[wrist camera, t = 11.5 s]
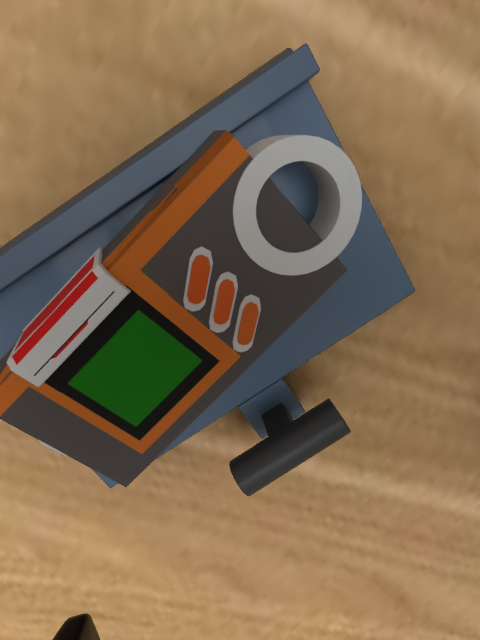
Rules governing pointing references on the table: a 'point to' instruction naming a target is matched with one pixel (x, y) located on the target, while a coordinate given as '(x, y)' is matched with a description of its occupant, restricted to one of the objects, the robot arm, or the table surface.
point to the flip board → (302, 192)
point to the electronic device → (179, 303)
